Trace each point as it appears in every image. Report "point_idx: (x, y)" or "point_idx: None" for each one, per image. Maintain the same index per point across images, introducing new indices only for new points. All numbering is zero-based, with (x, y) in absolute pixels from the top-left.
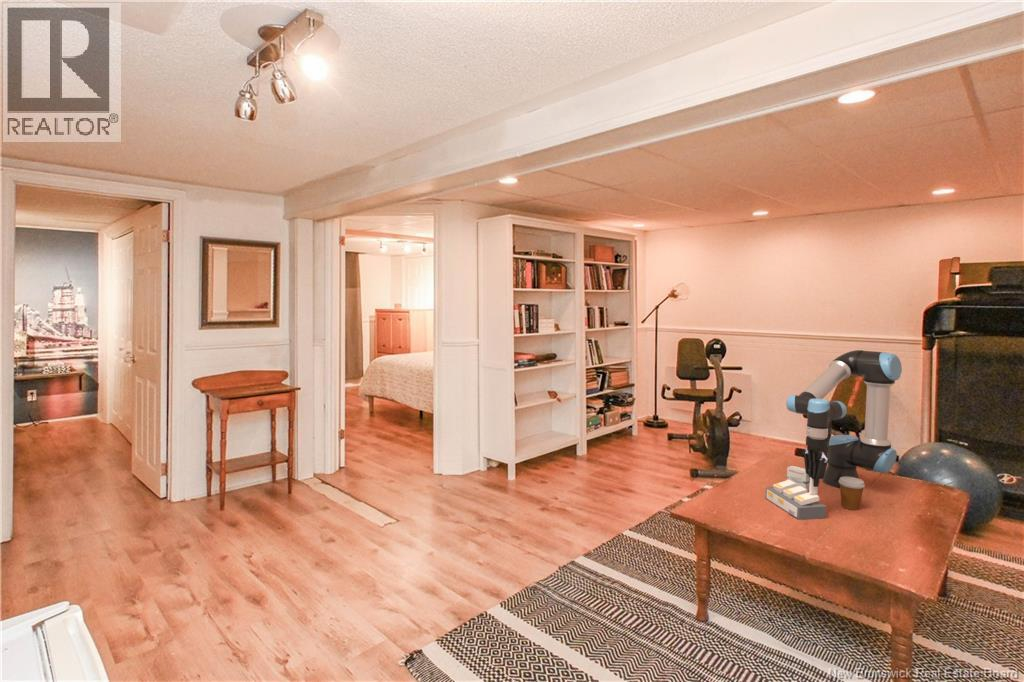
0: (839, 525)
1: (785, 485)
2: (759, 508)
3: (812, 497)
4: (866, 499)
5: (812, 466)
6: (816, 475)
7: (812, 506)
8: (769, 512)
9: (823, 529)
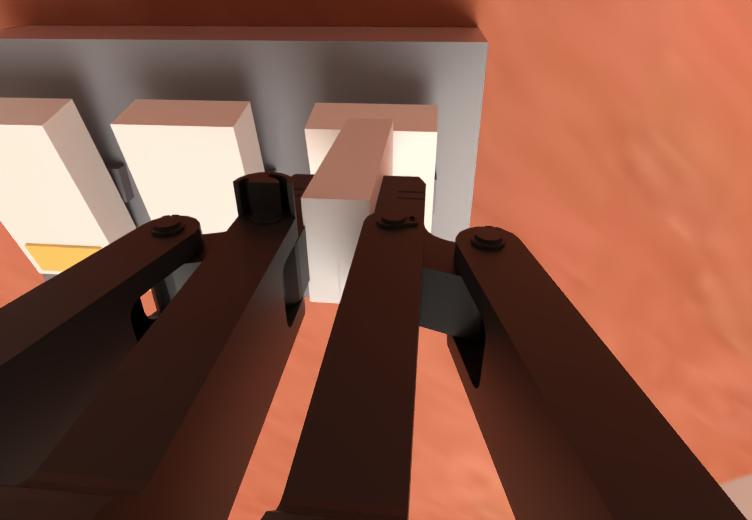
0: (635, 12)
1: (78, 220)
2: None
3: (428, 198)
4: None
5: (241, 430)
6: (457, 362)
7: (461, 188)
8: (325, 341)
9: (638, 198)
